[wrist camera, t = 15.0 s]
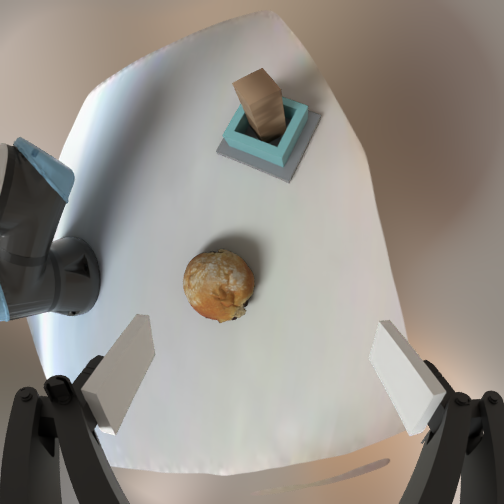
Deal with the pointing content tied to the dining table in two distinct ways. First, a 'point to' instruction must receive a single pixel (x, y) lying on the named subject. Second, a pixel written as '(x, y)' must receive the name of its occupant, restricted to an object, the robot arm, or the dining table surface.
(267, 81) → the walnut post
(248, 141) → the teal square socket
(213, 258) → the bread roll
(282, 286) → the dining table surface
